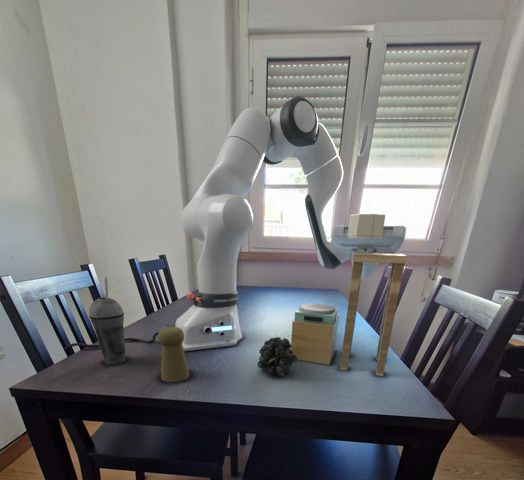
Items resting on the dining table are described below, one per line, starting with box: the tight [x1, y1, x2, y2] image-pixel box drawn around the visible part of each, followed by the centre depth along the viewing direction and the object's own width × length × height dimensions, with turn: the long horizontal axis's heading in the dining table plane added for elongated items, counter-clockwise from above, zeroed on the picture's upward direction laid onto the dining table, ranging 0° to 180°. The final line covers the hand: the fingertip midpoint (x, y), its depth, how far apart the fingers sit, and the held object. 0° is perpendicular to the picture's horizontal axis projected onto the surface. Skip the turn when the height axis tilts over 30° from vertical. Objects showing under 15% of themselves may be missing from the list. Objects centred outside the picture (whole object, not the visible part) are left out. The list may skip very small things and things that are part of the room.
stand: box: [339, 253, 408, 377], centre depth 65 cm, size 12×10×26 cm
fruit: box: [257, 336, 298, 376], centre depth 66 cm, size 9×8×15 cm
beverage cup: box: [88, 277, 126, 365], centre depth 66 cm, size 7×7×20 cm
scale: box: [290, 302, 340, 366], centre depth 73 cm, size 10×10×13 cm
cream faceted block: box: [348, 213, 386, 239], centre depth 72 cm, size 19×8×5 cm, turn 159°
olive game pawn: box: [157, 326, 190, 383], centre depth 60 cm, size 6×6×11 cm
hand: (368, 220), depth 76 cm, fingers closed on cream faceted block
